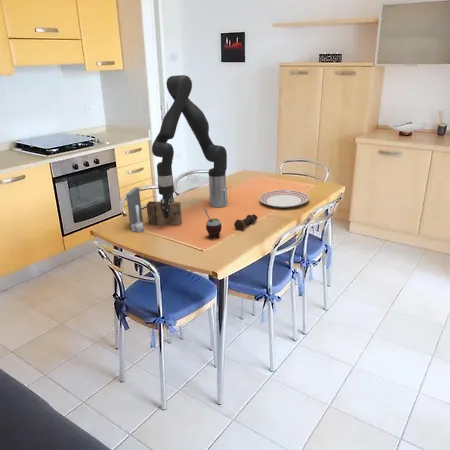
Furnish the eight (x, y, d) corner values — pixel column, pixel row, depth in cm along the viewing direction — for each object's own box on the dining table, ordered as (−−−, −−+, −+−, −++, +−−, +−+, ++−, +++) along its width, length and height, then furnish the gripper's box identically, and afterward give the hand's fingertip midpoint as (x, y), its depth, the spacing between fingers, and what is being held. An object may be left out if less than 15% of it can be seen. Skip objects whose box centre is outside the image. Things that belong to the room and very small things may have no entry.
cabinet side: (151, 221, 219) (148, 187, 213) (142, 232, 206) (138, 196, 199) (138, 221, 220) (134, 187, 214) (128, 232, 207) (124, 196, 200)
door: (182, 222, 216) (180, 201, 212) (179, 226, 211) (177, 205, 207) (151, 221, 219) (149, 201, 215) (148, 225, 214) (145, 204, 210)
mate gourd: (225, 236, 198) (223, 205, 192) (212, 241, 192) (211, 210, 187) (213, 232, 203) (212, 202, 197) (201, 237, 197) (199, 206, 192)
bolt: (256, 224, 215) (240, 233, 204) (248, 218, 217) (232, 227, 205) (261, 215, 212) (245, 224, 200) (253, 209, 213) (237, 218, 202)
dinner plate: (293, 214, 222) (293, 208, 221) (249, 205, 238) (249, 199, 236) (317, 199, 242) (317, 194, 241) (275, 192, 258) (275, 187, 256)
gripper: (169, 188, 200) (172, 220, 206) (176, 179, 213) (179, 210, 219) (153, 187, 201) (157, 220, 207) (162, 179, 215) (165, 210, 221)
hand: (168, 215), depth 213 cm, fingers open, 8 cm apart
